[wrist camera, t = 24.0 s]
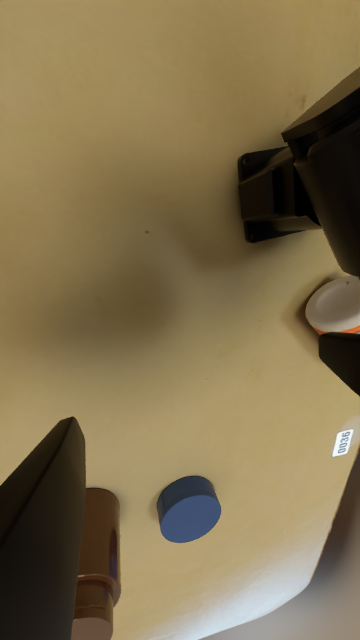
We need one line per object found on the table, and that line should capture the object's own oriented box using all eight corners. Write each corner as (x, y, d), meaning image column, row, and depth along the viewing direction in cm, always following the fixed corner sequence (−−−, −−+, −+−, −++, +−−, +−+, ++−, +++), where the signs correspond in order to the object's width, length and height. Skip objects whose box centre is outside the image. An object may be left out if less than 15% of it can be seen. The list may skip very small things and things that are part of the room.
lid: (145, 515, 28) (147, 538, 25) (177, 469, 27) (182, 489, 25) (193, 525, 30) (199, 546, 28) (223, 483, 29) (232, 502, 27)
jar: (97, 477, 24) (88, 598, 16) (130, 510, 27) (137, 631, 19) (39, 513, 24) (-1, 657, 16) (78, 543, 26) (61, 682, 18)
